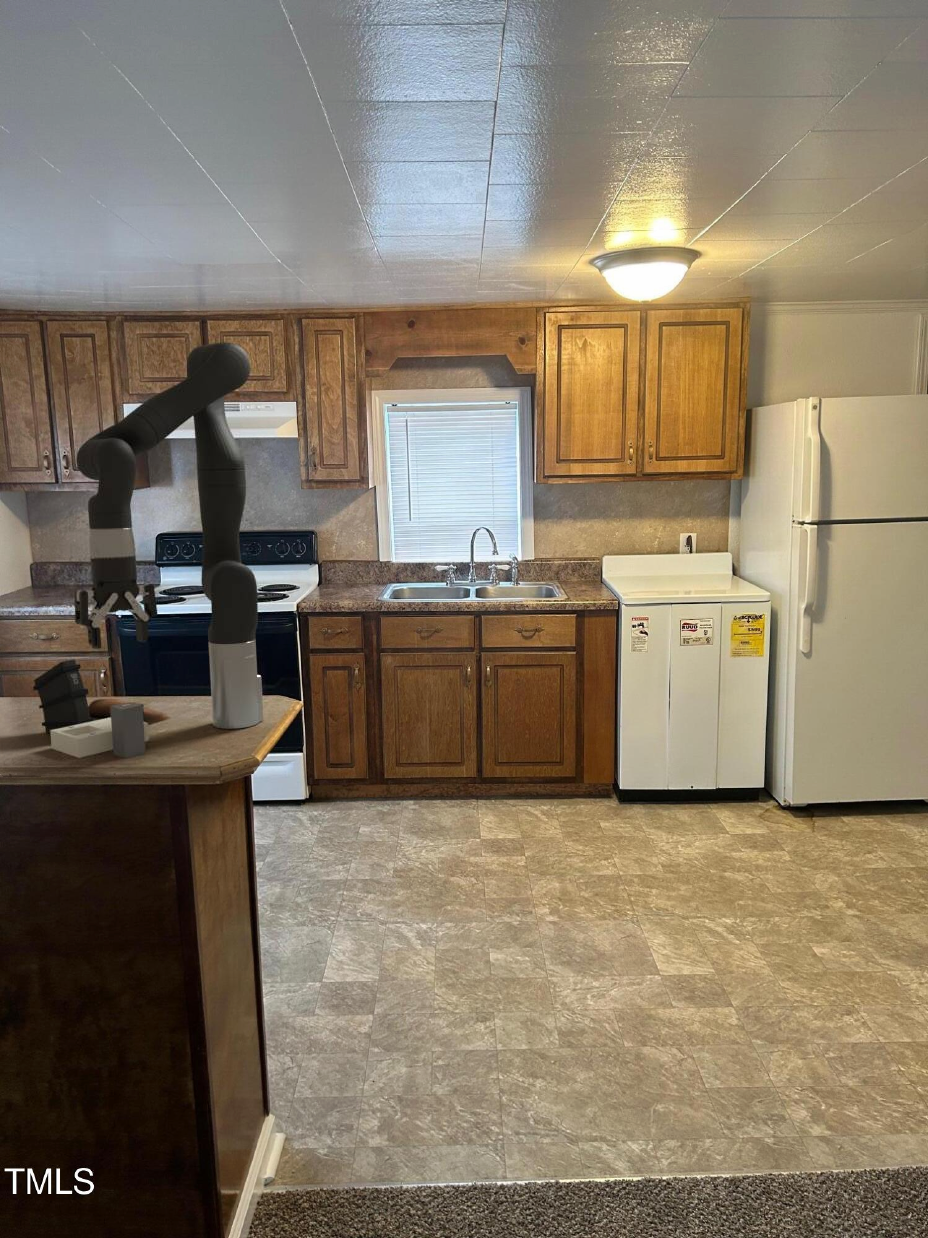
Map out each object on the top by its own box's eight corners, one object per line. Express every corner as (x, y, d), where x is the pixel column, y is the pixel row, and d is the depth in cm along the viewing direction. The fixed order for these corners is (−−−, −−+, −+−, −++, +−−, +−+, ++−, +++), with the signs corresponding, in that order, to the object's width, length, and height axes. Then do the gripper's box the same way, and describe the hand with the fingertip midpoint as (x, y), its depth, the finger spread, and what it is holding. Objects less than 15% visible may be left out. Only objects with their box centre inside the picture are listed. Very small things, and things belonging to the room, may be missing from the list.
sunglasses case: (175, 717, 190) (160, 694, 186) (153, 741, 186) (137, 717, 182) (120, 708, 200) (105, 685, 196) (97, 730, 195) (81, 707, 191)
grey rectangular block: (133, 749, 167) (130, 701, 166) (145, 753, 164) (142, 704, 163) (113, 754, 164) (110, 705, 163) (125, 758, 161) (121, 708, 160)
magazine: (87, 734, 171) (60, 661, 173) (51, 754, 179) (26, 684, 180) (104, 730, 175) (77, 658, 176) (68, 750, 182) (43, 681, 183)
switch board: (121, 732, 179) (119, 714, 178) (149, 740, 173) (147, 722, 172) (51, 748, 168) (50, 729, 168) (78, 758, 162) (77, 738, 161)
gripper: (139, 551, 167) (145, 637, 169) (63, 556, 156) (70, 648, 158) (160, 552, 162) (166, 641, 164) (83, 557, 151) (91, 652, 153)
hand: (119, 644), depth 161 cm, fingers open, 8 cm apart
